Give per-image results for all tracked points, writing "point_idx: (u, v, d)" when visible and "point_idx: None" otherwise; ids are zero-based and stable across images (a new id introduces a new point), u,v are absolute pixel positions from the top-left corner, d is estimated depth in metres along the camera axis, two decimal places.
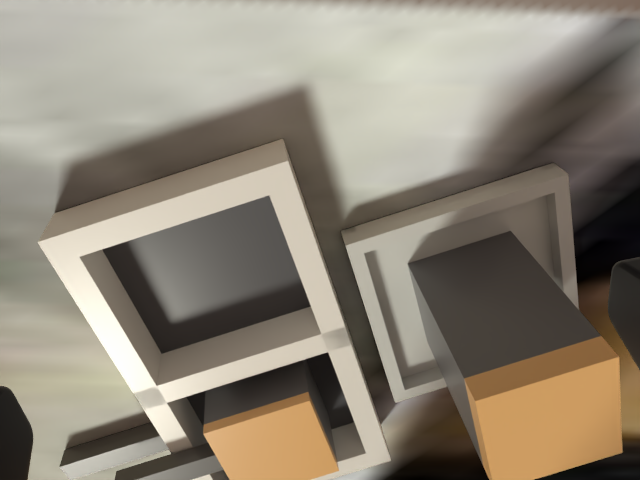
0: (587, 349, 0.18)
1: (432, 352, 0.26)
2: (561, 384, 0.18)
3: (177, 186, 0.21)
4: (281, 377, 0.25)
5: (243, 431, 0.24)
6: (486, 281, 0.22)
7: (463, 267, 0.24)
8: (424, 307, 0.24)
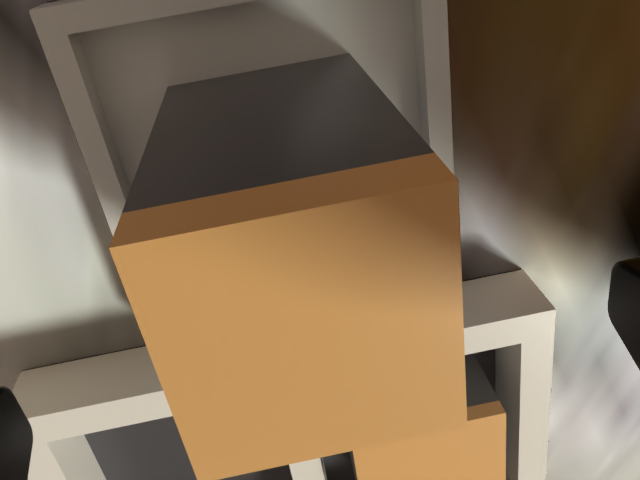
0: None
1: None
2: (180, 352, 0.08)
3: None
4: None
5: None
6: None
7: None
8: None
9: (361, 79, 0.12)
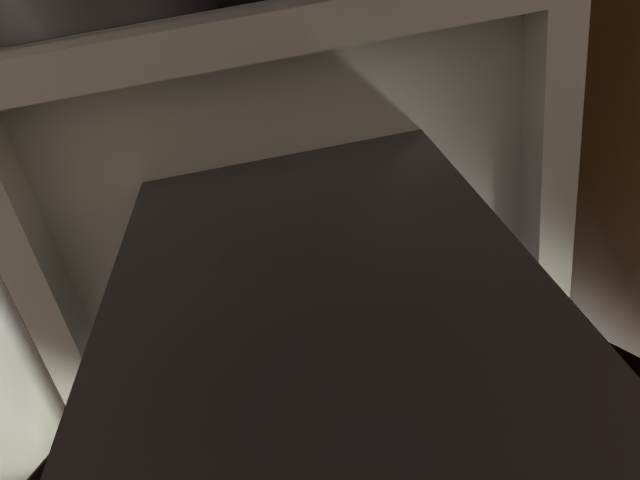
0: None
1: None
2: None
3: None
4: None
5: None
6: None
7: None
8: None
9: (463, 197, 0.07)
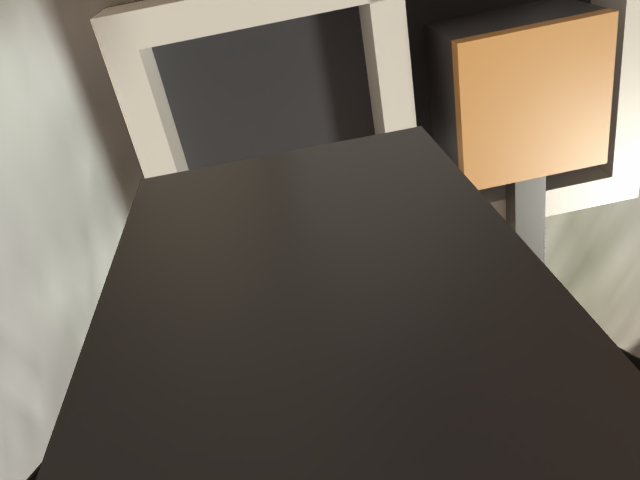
0: None
1: None
2: None
3: None
4: (440, 67, 0.18)
5: (480, 143, 0.17)
6: None
7: None
8: None
9: (463, 193, 0.07)
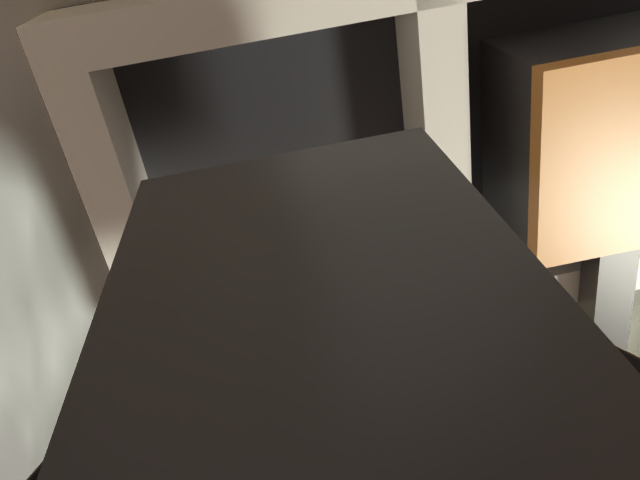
0: None
1: None
2: None
3: None
4: (505, 99, 0.13)
5: (562, 206, 0.13)
6: None
7: None
8: None
9: (463, 195, 0.07)
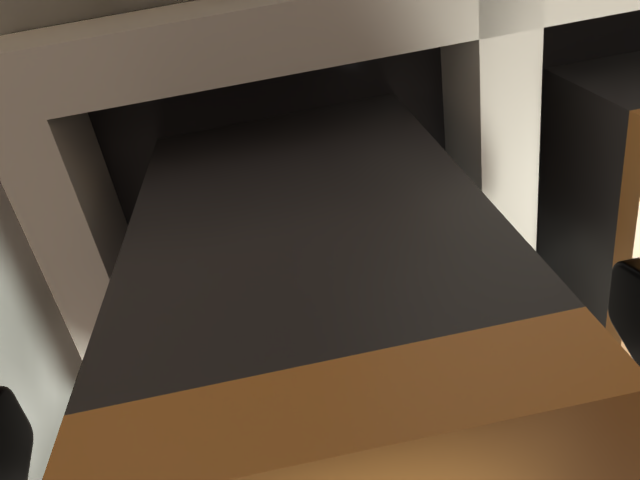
0: None
1: None
2: None
3: None
4: (580, 146, 0.11)
5: None
6: None
7: None
8: None
9: (420, 140, 0.09)
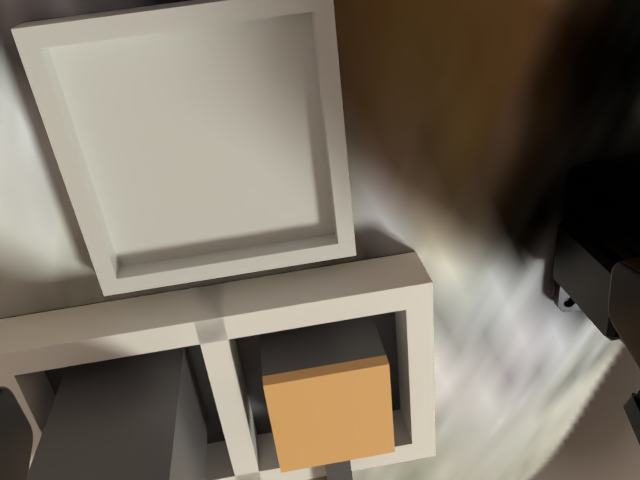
0: None
1: None
2: None
3: None
4: None
5: (289, 442, 0.22)
6: None
7: None
8: None
9: (174, 385, 0.21)
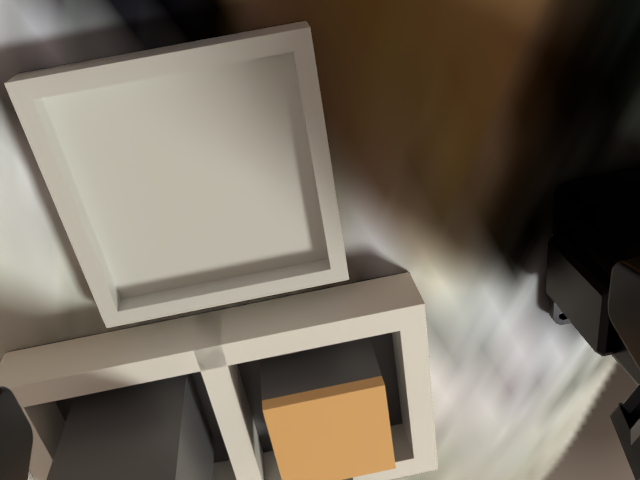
0: None
1: None
2: None
3: None
4: None
5: (291, 463, 0.23)
6: None
7: None
8: None
9: (177, 411, 0.22)
